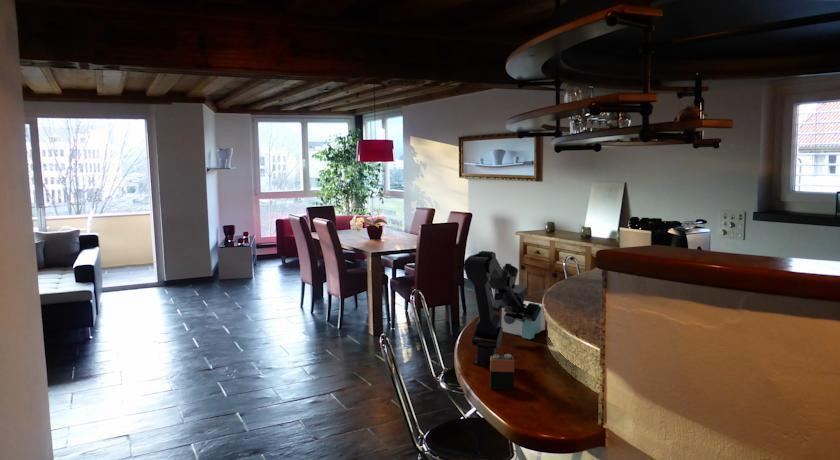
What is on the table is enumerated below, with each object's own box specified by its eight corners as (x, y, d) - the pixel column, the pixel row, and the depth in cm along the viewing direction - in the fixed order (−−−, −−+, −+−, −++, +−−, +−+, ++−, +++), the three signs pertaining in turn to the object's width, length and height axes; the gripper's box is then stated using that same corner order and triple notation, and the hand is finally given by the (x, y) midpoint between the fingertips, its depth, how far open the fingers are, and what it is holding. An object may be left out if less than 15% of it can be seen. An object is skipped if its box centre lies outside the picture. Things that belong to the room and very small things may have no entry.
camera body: (523, 337, 231) (524, 311, 230) (499, 331, 238) (500, 306, 237) (545, 329, 242) (545, 304, 241) (521, 324, 249) (522, 300, 248)
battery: (513, 390, 178) (514, 357, 176) (490, 390, 178) (491, 357, 177) (512, 385, 182) (513, 352, 181) (489, 384, 182) (490, 352, 181)
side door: (529, 339, 227) (530, 315, 226) (521, 337, 229) (522, 313, 228) (545, 333, 235) (546, 310, 234) (537, 331, 237) (538, 308, 236)
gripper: (539, 282, 214) (554, 307, 223) (495, 275, 227) (512, 299, 236) (526, 308, 209) (542, 333, 219) (482, 299, 222) (499, 323, 231)
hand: (523, 321), depth 226 cm, fingers closed
